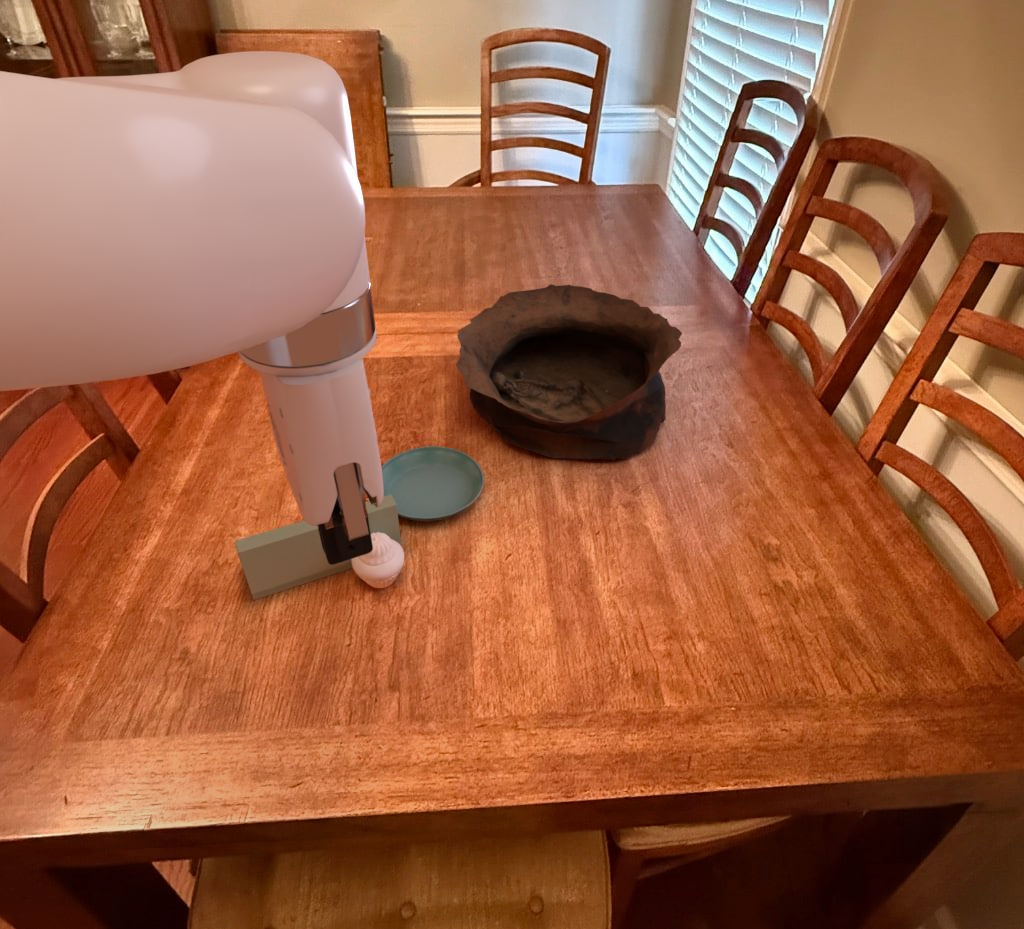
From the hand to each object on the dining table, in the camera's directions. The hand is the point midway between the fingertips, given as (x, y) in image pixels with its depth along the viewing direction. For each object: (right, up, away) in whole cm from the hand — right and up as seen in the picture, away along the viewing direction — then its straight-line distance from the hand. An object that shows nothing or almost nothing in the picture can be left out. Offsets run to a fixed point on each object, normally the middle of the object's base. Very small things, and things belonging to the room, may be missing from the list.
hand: (348, 550), depth 49 cm
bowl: (+19, +15, +61) cm, 66 cm away
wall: (-11, -6, +35) cm, 38 cm away
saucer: (+1, +2, +45) cm, 45 cm away
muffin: (-4, -8, +34) cm, 35 cm away
